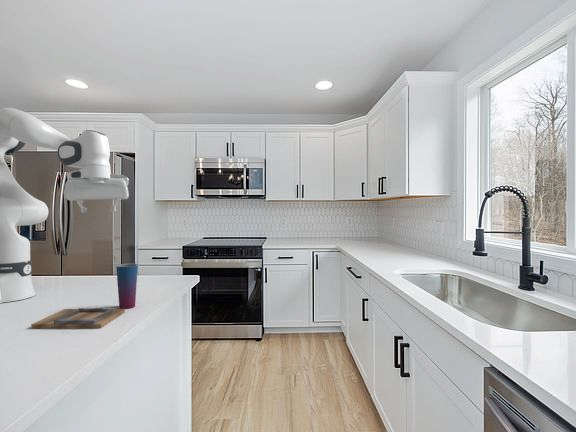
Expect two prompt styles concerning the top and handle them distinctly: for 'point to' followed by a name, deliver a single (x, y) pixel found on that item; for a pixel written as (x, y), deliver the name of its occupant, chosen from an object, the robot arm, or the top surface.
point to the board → (79, 318)
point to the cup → (127, 285)
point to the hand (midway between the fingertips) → (98, 212)
